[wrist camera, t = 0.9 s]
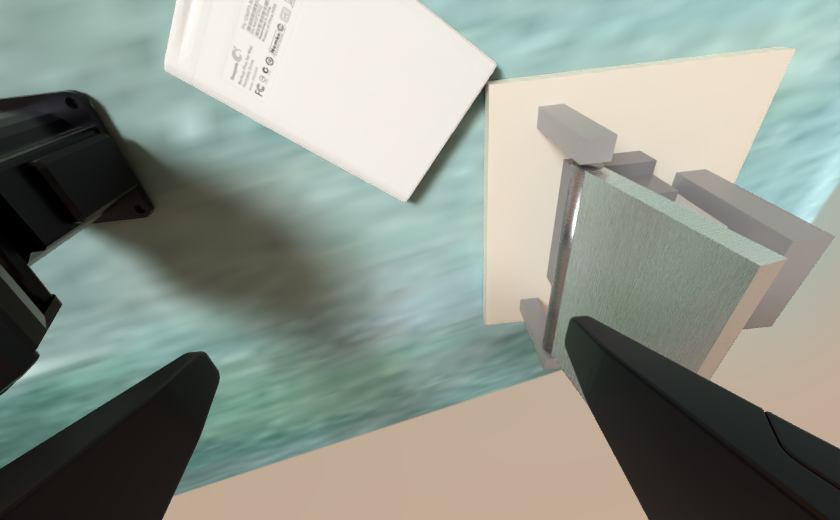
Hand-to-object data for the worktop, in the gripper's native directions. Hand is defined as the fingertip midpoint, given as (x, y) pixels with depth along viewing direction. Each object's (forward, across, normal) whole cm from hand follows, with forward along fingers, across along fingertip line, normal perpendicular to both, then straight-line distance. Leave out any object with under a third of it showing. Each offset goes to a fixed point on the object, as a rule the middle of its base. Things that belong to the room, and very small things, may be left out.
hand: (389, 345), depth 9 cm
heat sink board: (+13, +12, -4) cm, 18 cm away
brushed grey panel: (+7, +8, -4) cm, 12 cm away
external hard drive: (+14, -2, +5) cm, 15 cm away
